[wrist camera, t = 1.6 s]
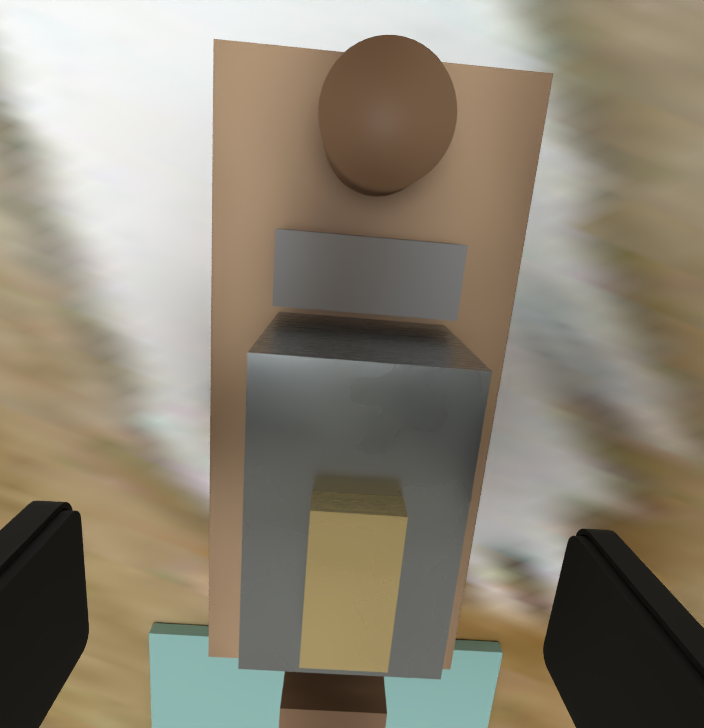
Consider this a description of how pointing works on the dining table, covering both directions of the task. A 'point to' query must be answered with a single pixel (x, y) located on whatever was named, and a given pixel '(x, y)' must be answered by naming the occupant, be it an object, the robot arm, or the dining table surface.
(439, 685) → the mat
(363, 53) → the plane body
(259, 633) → the lever cap
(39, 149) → the dining table surface
